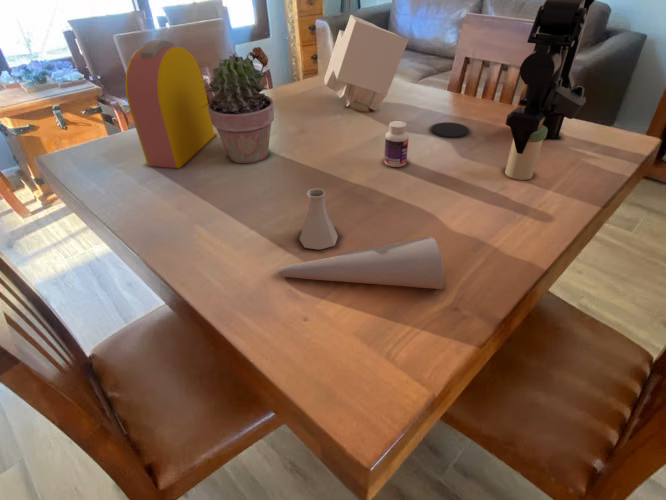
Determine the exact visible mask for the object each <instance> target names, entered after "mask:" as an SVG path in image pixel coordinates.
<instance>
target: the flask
mask: <svg viewBox="0 0 666 500" xmlns="http://www.w3.org/2000/svg"><path fill="white" fill-rule="evenodd" d="M306 195H307V197H308V211H307V215H306V216H305V217H306V218H305V221H304V224H303V227H302V230H301V232H300V236H299V242H300V244H301V245H302V246H303V247H304V249H313V250H324V249H327V248H331V247H334V246H335V245H336V243H337V240H338V238H339V236H338V233H337V231H336V229H335V226H334V224H333V223H332V221H331V218H330V215H329V213H328V211H327V208H326V202H325V197H326V191H325V190H324V188H321V187H314V188H311V189H308V191H307V192H306Z"/></svg>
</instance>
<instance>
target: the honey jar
mask: <svg viewBox="0 0 666 500" xmlns="http://www.w3.org/2000/svg"><path fill="white" fill-rule="evenodd" d="M543 142H544V139H543V140H541V141H528V143H527V145H526V147H525V149H524V151H523V153H522V154H519V153H517V151H516V147H515V143H514V139H513V138H512V142H511V145H510V149H509V153H508V157H507V161H506V166H505V170H504V174H505V175H506V176H507V177H508V178H511V179H513V180H519V181H525V180H530V179H532V178H533V177H534V172H535V169H536V166H537V163H538V159H539V155H540V153H541V148H542V145H543Z"/></svg>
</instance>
